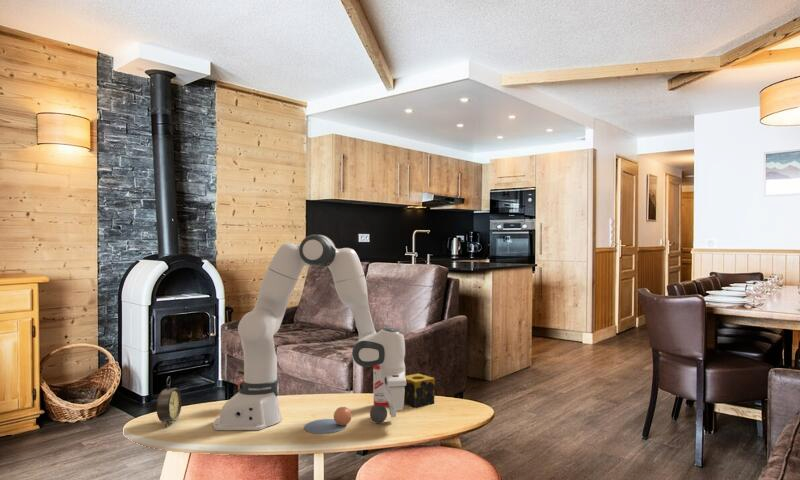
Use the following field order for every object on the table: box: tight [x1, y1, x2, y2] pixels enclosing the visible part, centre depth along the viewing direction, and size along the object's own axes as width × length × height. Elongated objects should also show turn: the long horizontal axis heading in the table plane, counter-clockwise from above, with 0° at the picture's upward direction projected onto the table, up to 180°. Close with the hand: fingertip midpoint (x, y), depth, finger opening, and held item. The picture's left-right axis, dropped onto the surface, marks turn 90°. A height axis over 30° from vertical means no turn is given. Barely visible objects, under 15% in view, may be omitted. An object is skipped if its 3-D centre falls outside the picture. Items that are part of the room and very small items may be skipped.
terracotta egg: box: [333, 406, 353, 426], centre depth 167 cm, size 6×6×6 cm
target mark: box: [304, 418, 347, 435], centre depth 166 cm, size 14×14×1 cm
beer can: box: [372, 365, 389, 408], centre depth 189 cm, size 6×6×16 cm
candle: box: [404, 373, 435, 409], centre depth 192 cm, size 10×10×10 cm
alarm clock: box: [156, 376, 182, 429], centre depth 170 cm, size 11×5×16 cm, turn 3°
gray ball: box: [369, 405, 388, 424], centre depth 169 cm, size 6×6×6 cm
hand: (392, 416), depth 170 cm, fingers closed
